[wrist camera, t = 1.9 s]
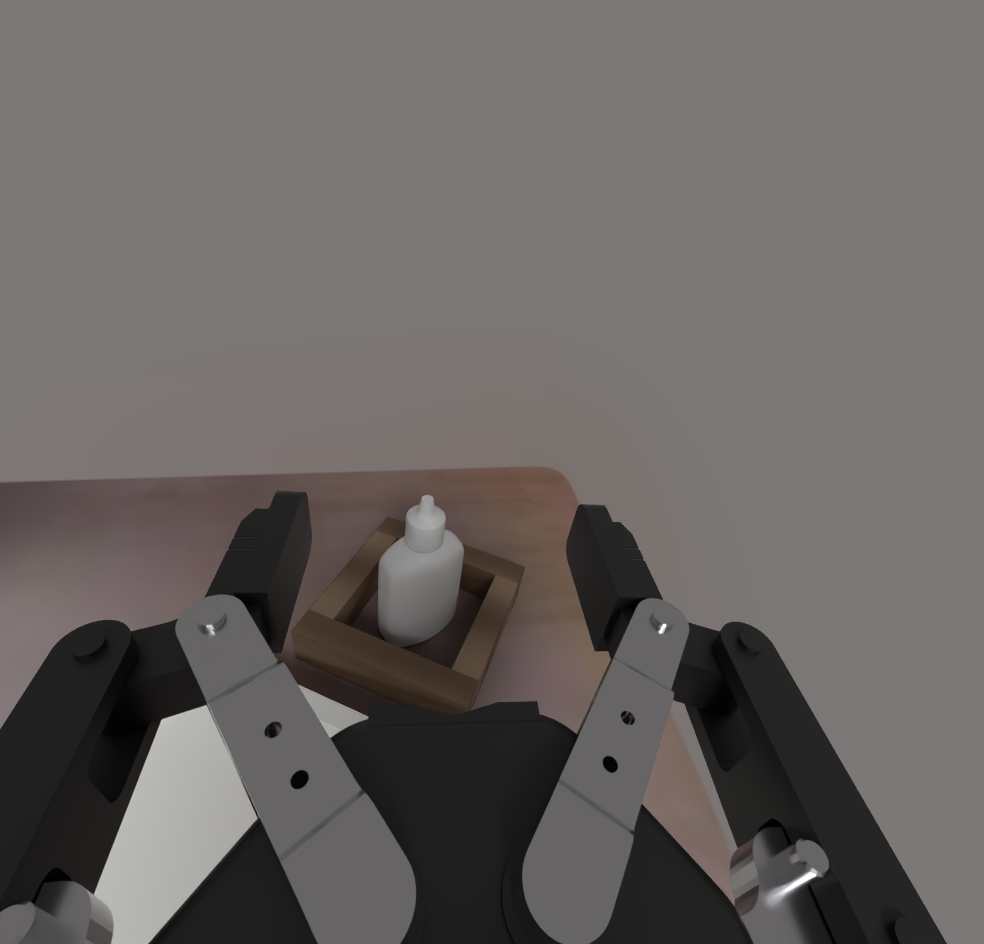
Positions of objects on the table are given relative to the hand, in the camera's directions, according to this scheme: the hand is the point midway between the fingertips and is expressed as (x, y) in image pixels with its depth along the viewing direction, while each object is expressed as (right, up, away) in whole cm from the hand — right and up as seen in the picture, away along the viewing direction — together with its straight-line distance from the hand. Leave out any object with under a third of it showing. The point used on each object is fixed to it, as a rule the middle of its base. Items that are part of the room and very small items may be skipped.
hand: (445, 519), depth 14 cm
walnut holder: (-4, -10, +21) cm, 23 cm away
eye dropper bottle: (-4, -10, +21) cm, 24 cm away
